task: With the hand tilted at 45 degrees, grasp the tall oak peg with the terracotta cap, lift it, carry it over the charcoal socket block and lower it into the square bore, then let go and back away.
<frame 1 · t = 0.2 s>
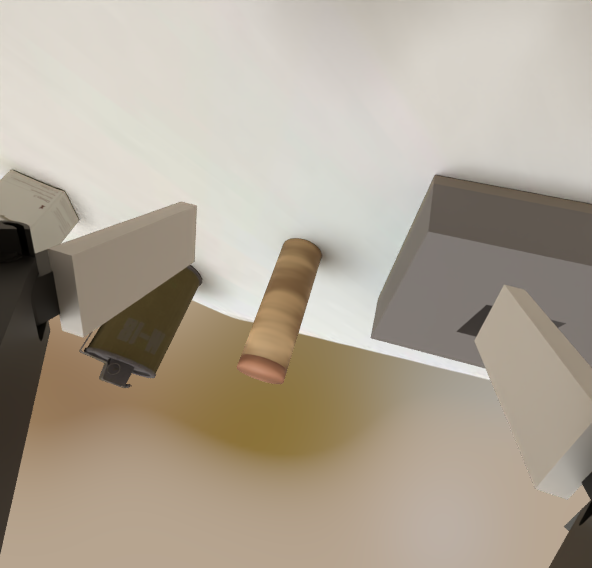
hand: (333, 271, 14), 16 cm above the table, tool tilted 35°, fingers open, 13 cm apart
supplement box: (48, 195, 48), on the table
canister: (172, 267, 57), on the table
oak peg: (302, 251, 41), on the table
socket block: (504, 276, 35), on the table
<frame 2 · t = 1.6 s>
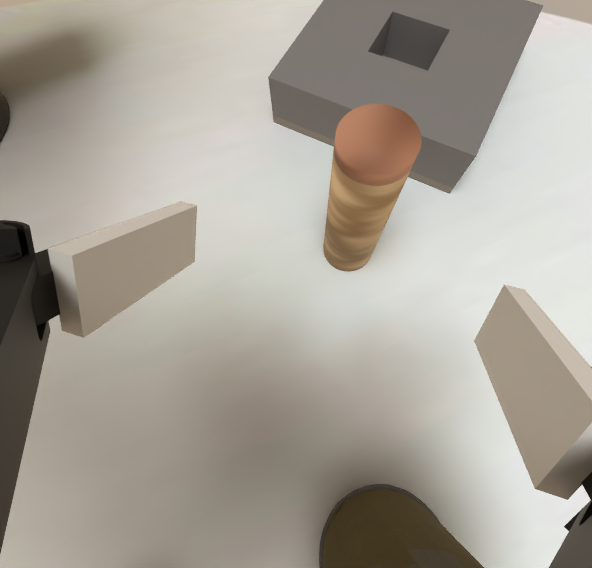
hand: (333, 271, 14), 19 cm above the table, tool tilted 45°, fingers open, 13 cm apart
canister: (381, 558, 27), on the table
oak peg: (347, 248, 35), on the table
socket block: (395, 89, 41), on the table
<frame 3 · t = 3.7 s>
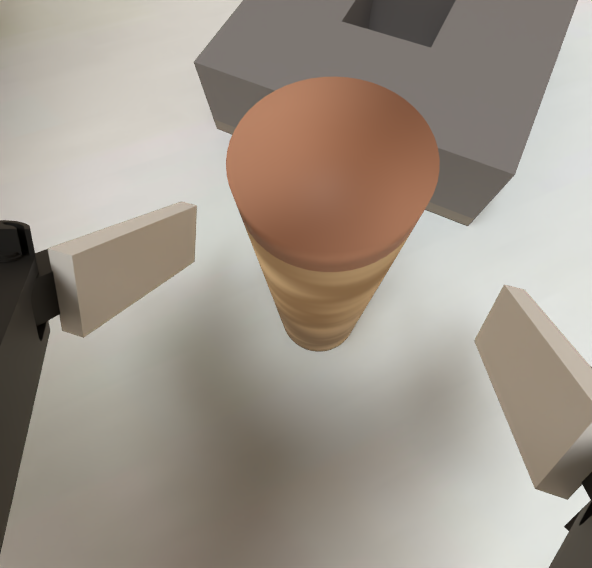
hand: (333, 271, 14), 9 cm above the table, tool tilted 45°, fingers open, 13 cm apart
oak peg: (318, 314, 23), on the table
socket block: (385, 79, 30), on the table
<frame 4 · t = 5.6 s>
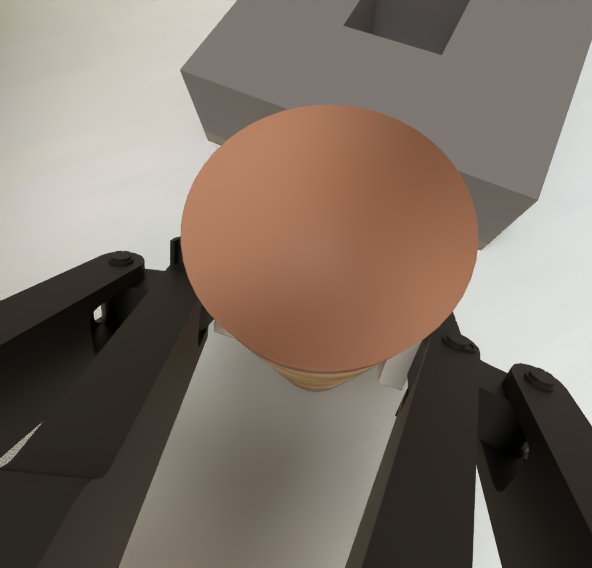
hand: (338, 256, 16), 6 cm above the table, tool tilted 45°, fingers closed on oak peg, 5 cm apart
oak peg: (315, 349, 21), on the table, touching gripper
socket block: (389, 88, 27), on the table
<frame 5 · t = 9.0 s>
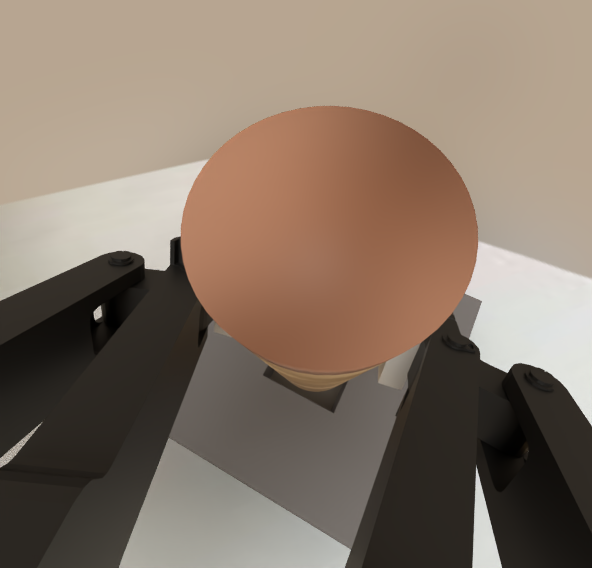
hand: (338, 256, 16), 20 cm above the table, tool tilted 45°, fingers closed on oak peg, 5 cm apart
oak peg: (315, 349, 21), point 14 cm above the table, touching gripper
socket block: (314, 364, 34), on the table
when the fingers open (9 cm above the table, at t = 12.5 s): oak peg drops 1 cm, resting on socket block.
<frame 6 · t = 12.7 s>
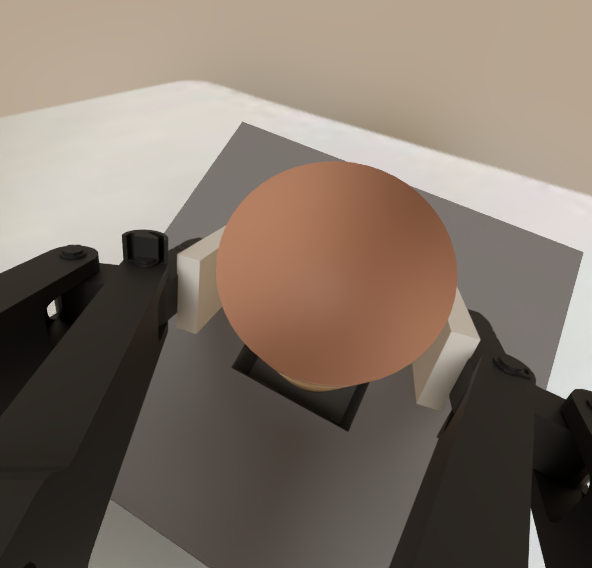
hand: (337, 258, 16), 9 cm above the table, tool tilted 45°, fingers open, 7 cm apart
oak peg: (315, 353, 22), point 1 cm above the table, touching socket block
socket block: (315, 354, 23), on the table
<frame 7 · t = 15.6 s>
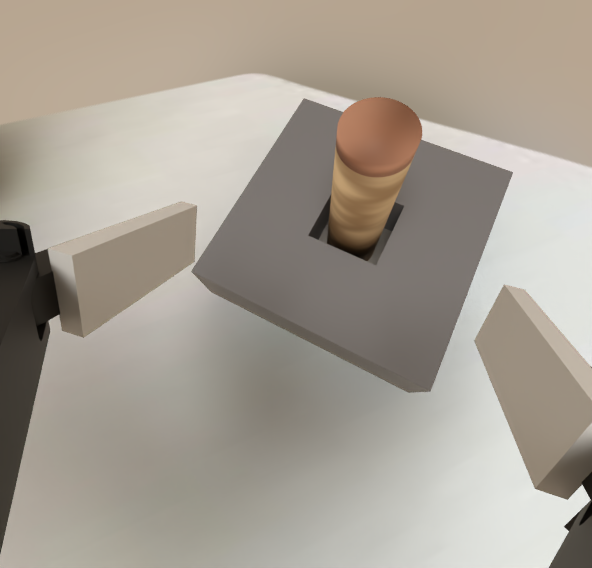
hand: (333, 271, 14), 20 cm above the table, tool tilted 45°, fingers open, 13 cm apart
oak peg: (350, 244, 35), point 1 cm above the table, touching socket block
socket block: (349, 248, 36), on the table
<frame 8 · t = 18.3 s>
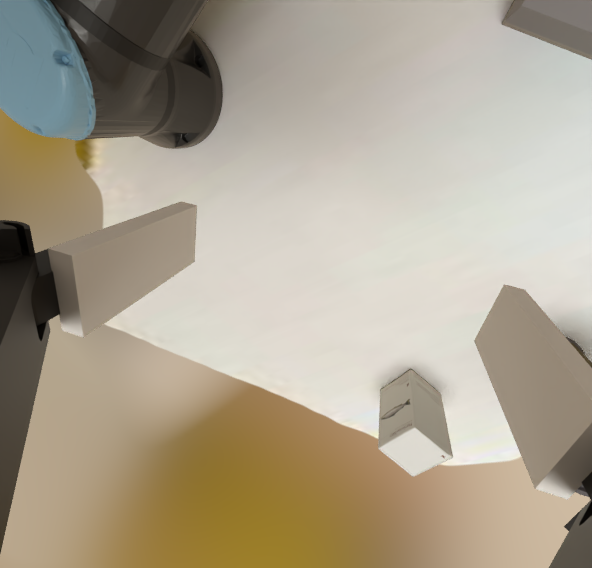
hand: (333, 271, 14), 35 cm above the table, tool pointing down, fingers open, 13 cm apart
supplement box: (409, 390, 58), on the table
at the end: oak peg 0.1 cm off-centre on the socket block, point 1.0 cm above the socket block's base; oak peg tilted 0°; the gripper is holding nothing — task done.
